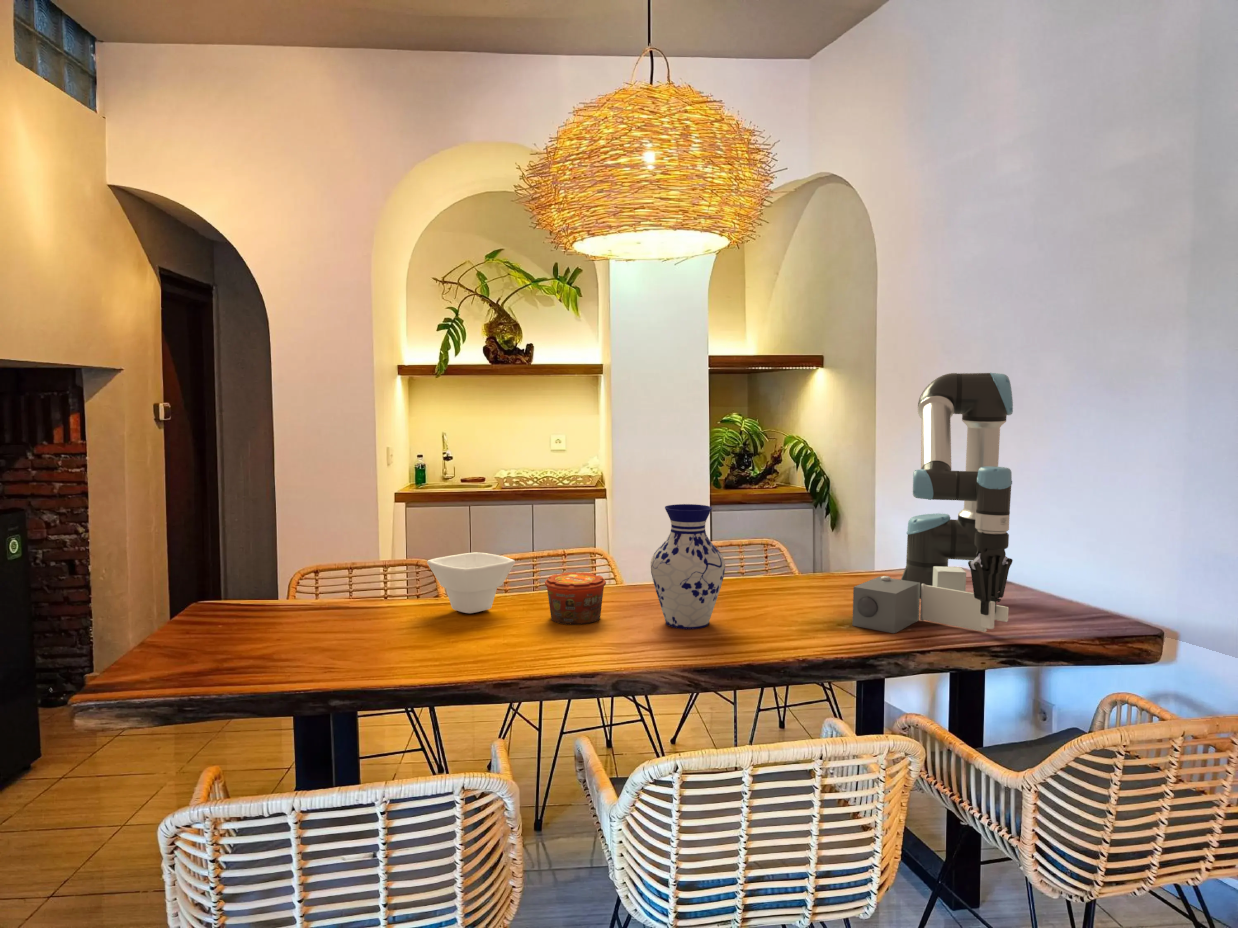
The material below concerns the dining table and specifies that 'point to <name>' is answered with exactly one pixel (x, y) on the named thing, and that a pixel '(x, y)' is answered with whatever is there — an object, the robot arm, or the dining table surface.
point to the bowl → (471, 578)
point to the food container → (575, 597)
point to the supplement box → (949, 578)
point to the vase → (687, 569)
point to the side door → (955, 608)
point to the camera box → (886, 604)
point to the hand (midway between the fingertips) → (987, 627)
